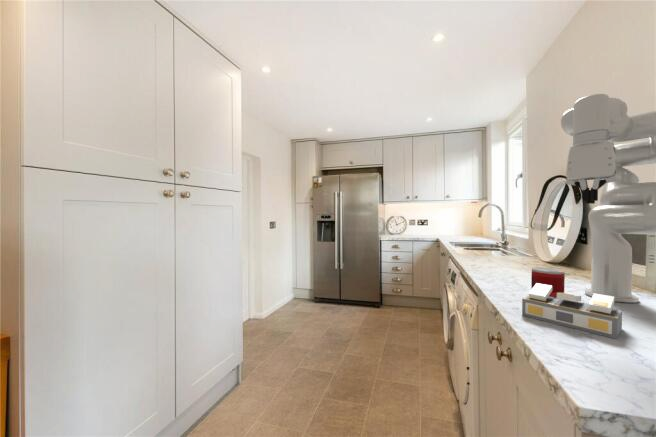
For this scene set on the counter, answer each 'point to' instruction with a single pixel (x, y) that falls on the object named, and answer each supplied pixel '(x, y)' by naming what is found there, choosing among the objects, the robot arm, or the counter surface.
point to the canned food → (549, 279)
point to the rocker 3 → (601, 303)
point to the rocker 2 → (569, 297)
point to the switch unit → (574, 315)
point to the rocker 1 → (540, 292)
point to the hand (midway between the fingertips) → (590, 203)
